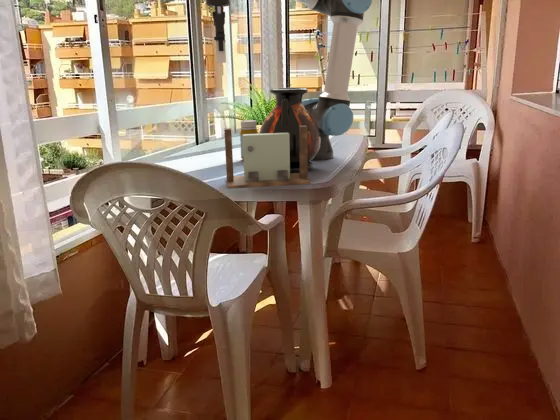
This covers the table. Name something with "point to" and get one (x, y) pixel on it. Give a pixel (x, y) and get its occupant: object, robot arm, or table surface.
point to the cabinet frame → (282, 174)
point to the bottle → (247, 131)
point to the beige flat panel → (266, 154)
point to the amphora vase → (293, 124)
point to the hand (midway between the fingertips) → (221, 62)
